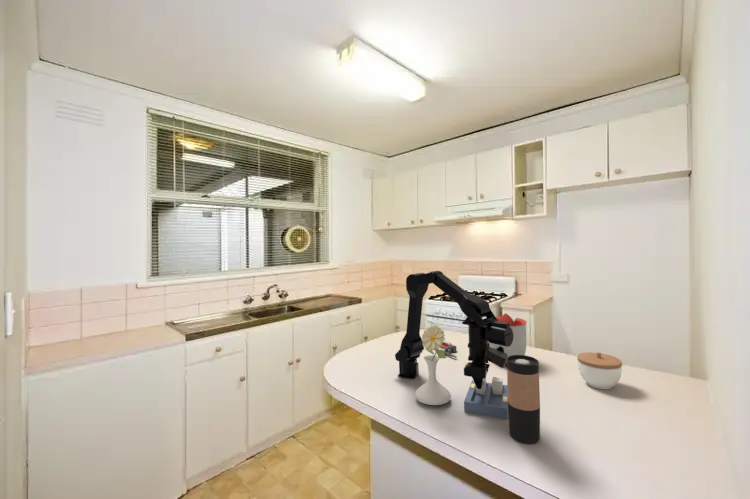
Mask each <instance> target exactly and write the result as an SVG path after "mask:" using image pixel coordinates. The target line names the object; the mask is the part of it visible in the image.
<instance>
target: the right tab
mask: <svg viewBox="0 0 750 499" xmlns="http://www.w3.org/2000/svg"><path fill="white" fill-rule="evenodd" d="M503 379H504V378H503V377H497V376H492V379H491V383H492V394H496V395H503V385H504V380H503Z"/></svg>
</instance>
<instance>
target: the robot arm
mask: <svg viewBox="0 0 750 499" xmlns="http://www.w3.org/2000/svg"><path fill="white" fill-rule="evenodd" d="M431 284H432V285H434V286H436V287H437V288H438V289H439V290H441V291H442V292H443V293H444V294H446V295H447V296H448V297H449V298H451V299H452V300H453V301H454V302H455V303H456V304H457V305H458V306H459V308H460V311H461V312H462V313H463V314H464V315H465V316H466V318H465V319H464V320H463V321H462V322H461V324H462V325H467V326H468V343H467V348H468V354H469V355H468V357H467V361H469V362H467V363H466V364H465V366H464V367H463V375H464V376H465V377H471V378H472V380H473V381H474V382H475V384H476V387H477V388H478V389H481V387H482V382H483V378H486V379H487V374H488V371H489V369H490V366H491V364H494V365H496V366H498V368H502V369H504V368H505V366H506V365H505V363H506V360H507V357H508V355H507V353H505V352H504V347H502V346H507V347H509V346H511V344H512V342H513V337H514V333H513V331H512V329H511V328H510V324H509V323H506V322H504V323H503V322H496V321H497V318H496V317H497V316H496V315H495V314H494V312H493V311H492V310H491V307H490V304H489V302H488V301H487V300H485V299H484V298H482V297H480V296H477V295H474V294H472V293H469V292H467V291H466V290H465V289H463V288H462V287H461V286H459V285H458V284H457V283H456V282H454V281H453V280H451V279H450V278H449V277H448V276H447V275H445V274H444V273H443V272H442V271H440V270H433V271H430V272H427V273H424V272H417V273H411V274H409V275H408V276H407V277H406V279H405V287H406V292H407V294H408V297H409V298H408V299H409V300H408V308H407V309H408V312H407V322H406V332H405V334H404V336H403V338H402V339H401V343H400V346H399V350H397V351H396V353H395V354H394V357H395V360H396V361H397V362H398V363H399V364H398V368H399V370H398V371H399V373H398V375H397V377H399V378H406V379H413V380H414V379H415V378H416V377H417V376H418V374H419V373H420V371H419V362H418V359H419V358H420V356H421V354H422V353H423V351H424V350H425V347H424V346H423V345H422V343H423V342H422V335H420V331H421V323H422V322H421V321H422V311H423V300H424V297H425V295H426V294H427V292H428V289H429V285H431ZM490 343H493V344H497V345H502V346H498V347H497V348H496V349H495V348H491V347H490ZM489 362H490V363H491V364H489Z"/></svg>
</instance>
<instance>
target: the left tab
mask: <svg viewBox="0 0 750 499" xmlns="http://www.w3.org/2000/svg"><path fill="white" fill-rule="evenodd" d="M486 382H487V377H486V378H483V382H482V387H481V389H478V388H477V387H476V384H475V388H476V394H483V395H485V393H486Z"/></svg>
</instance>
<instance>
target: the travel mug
mask: <svg viewBox="0 0 750 499" xmlns="http://www.w3.org/2000/svg"><path fill="white" fill-rule="evenodd" d="M539 366H540V362H539V360H538V359H537V358H535V357H533V356H529V355H526V354H525V355H512V356H509V357H508V358H507V365H506V373H507V374H506V378H507V379H506V380H507V381H506V382H507V384H506V385H507V392H508V426H509V428H508V429H509V436H510V437H511V439H513V440H515V441H516V442H518V443H520V444H523V445H535V444H537V443H538V442H540V438H541V430H540V429H541V398H540V397H541V396H540V392H541V391H540V371H539V370H540V369H539V368H540V367H539Z"/></svg>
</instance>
